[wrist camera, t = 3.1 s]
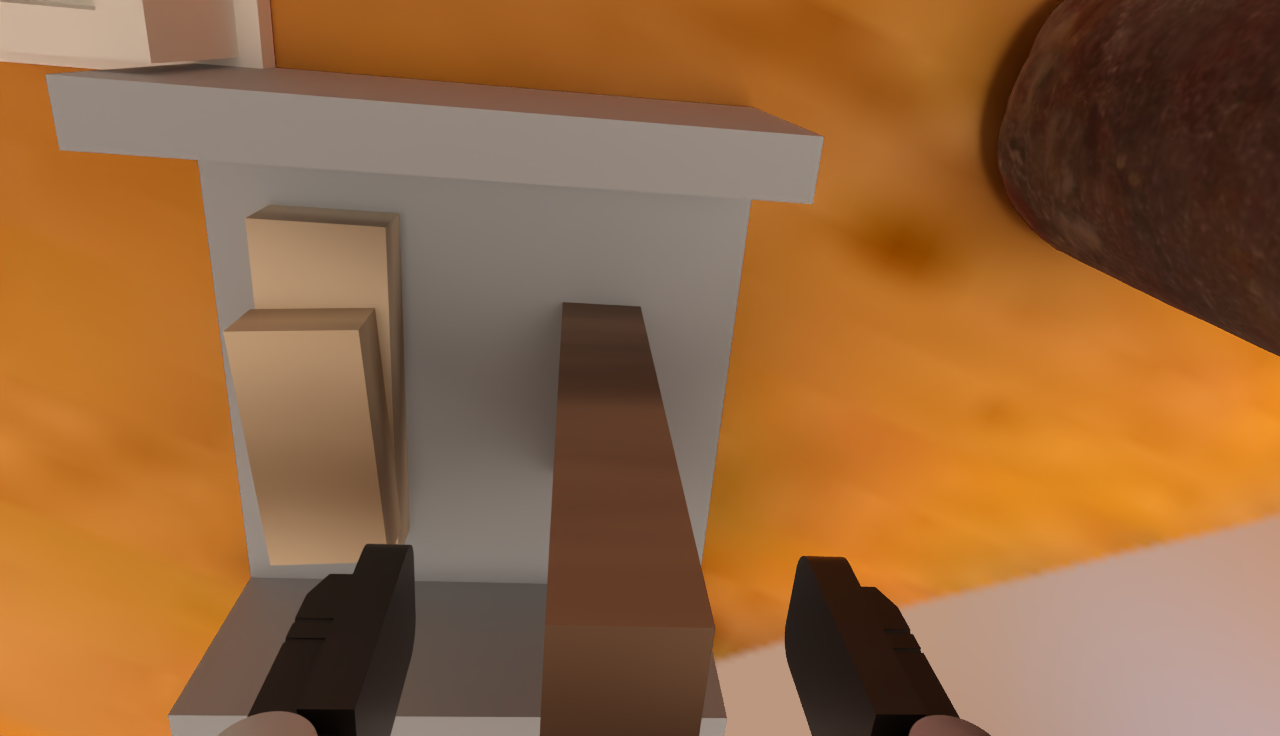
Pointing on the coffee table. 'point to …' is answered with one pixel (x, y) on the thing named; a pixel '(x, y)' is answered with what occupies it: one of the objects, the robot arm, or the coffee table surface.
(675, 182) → the rack
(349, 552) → the offcut short
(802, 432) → the coffee table surface
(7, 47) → the holder
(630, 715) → the slat
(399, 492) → the block
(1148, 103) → the brown log
